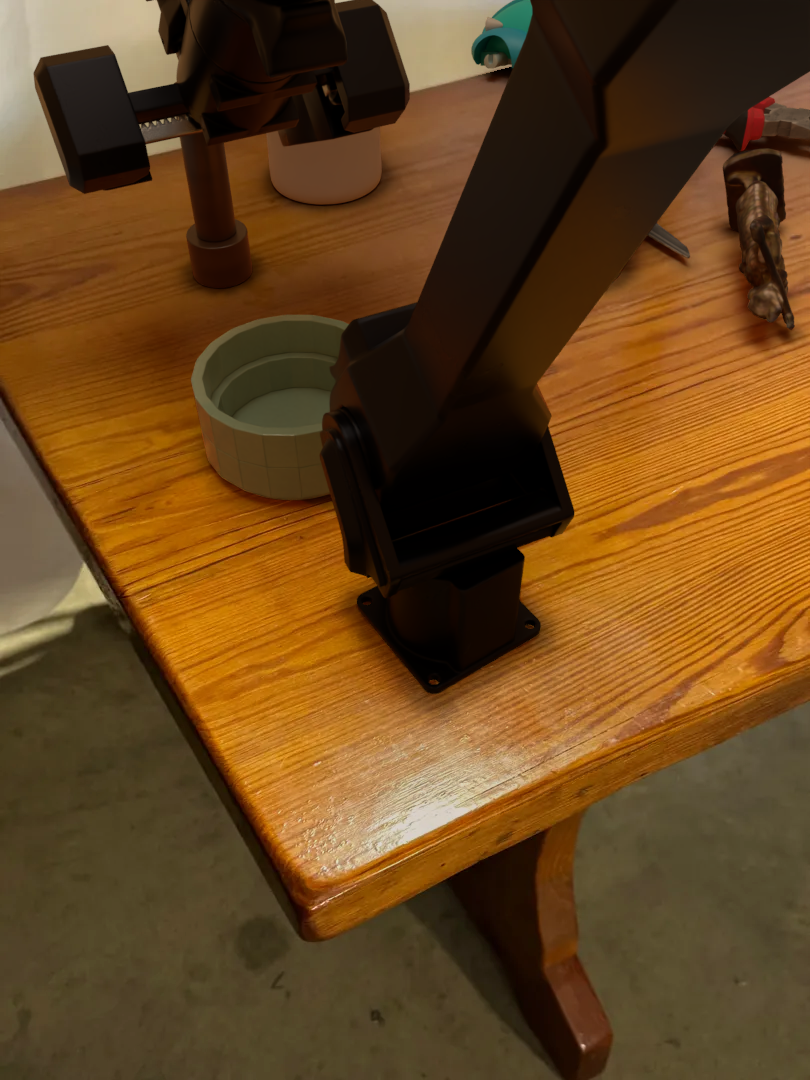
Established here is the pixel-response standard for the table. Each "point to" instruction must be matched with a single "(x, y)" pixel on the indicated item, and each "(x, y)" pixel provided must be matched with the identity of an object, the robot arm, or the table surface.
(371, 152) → the mug
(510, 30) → the toy car
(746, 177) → the figurine
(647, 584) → the table surface
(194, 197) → the muddler
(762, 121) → the pliers
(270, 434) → the bowl
